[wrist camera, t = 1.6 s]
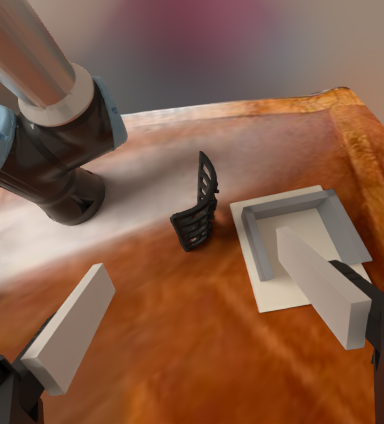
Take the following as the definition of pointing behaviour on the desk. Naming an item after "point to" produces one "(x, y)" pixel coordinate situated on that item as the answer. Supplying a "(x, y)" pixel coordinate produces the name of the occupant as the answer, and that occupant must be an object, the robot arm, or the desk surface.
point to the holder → (198, 209)
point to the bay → (302, 226)
